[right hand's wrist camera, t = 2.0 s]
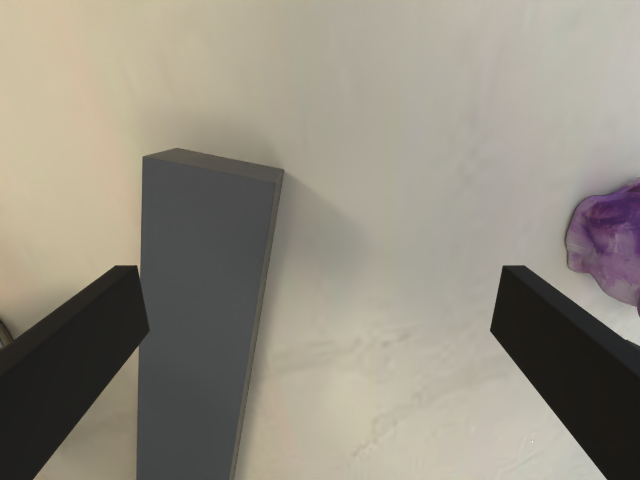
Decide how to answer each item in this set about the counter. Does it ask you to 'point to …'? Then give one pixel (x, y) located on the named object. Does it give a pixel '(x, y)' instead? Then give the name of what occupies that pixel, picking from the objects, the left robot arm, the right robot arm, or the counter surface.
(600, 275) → the figurine
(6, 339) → the left robot arm
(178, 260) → the slab
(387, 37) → the counter surface
